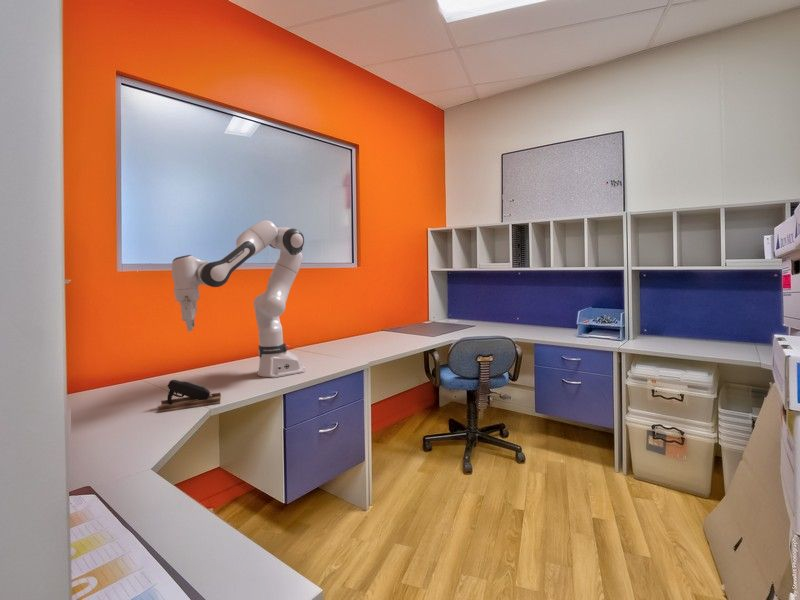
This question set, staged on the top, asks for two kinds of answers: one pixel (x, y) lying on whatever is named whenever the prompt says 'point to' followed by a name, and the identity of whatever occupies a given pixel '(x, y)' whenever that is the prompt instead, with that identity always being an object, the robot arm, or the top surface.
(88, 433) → the top surface
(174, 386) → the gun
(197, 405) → the walnut stand
